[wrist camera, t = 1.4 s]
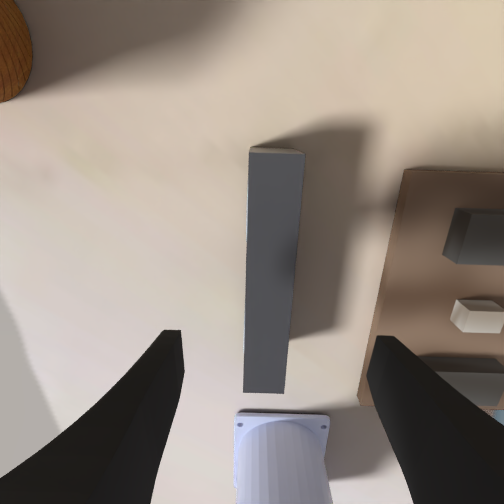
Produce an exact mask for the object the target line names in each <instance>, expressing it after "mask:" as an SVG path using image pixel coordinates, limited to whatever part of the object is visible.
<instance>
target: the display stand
mask: <svg viewBox="0 0 504 504" xmlns="http://www.w3.org/2000/svg"><path fill="white" fill-rule="evenodd" d="M377 335H389V336H395V337H396V338H397V339H398V340H399V341H400V342H402V343H403V344H404V345H405V346H406V347H407V348H408V349H410V350H411V351H412V352H413V353H414V354H415V355H416V356H418V357H419V358H420V359H421V360H422V361H423V362H424V363H425V364H427V365H428V366H429V367H430V368H431V369H432V370H433V371H435V372H436V373H437V374H438V375H439V376H440V377H442V378H443V379H444V380H445V381H446V382H448V383H449V384H450V385H451V386H452V387H454V388H455V389H456V390H457V391H458V392H460V393H461V394H462V395H464V396H465V397H466V398H467V399H469V400H470V401H471V402H472V403H474V404H475V405H476V406H478V407H479V408H480V409H492V410H504V173H501V172H469V171H436V170H404V173H403V178H402V183H401V187H400V192H399V197H398V202H397V207H396V211H395V216H394V221H393V226H392V230H391V235H390V240H389V245H388V250H387V254H386V259H385V264H384V269H383V273H382V278H381V283H380V288H379V293H378V297H377V302H376V307H375V312H374V316H373V321H372V326H371V331H370V335H369V340H368V345H367V350H366V355H365V359H364V364H363V369H362V374H361V378H360V383H359V388H358V393H357V397H358V399H359V402H360V405H361V406H375V405H374V402H373V399H372V395H371V392H370V388H369V385H368V381H367V377H366V374H367V370H368V367H369V363H370V359H371V355H372V352H373V348H374V344H375V340H376V337H377Z"/></svg>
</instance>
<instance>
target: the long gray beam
mask: <svg viewBox="0 0 504 504" xmlns="http://www.w3.org/2000/svg"><path fill="white" fill-rule="evenodd" d="M305 155H306V154H304V153H302V152H300V151H298V150H295V149H293V148H265V147H250V150H249V170H248V189H247V222H246V242H247V253H246V295H245V317H244V378H243V393H277V394H284V388H285V377H286V366H287V354H288V343H289V332H290V321H291V310H292V299H293V288H294V277H295V266H296V255H297V243H298V232H299V221H300V210H301V199H302V188H303V177H304V166H305Z"/></svg>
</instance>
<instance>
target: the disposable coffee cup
mask: <svg viewBox="0 0 504 504" xmlns="http://www.w3.org/2000/svg"><path fill="white" fill-rule="evenodd" d="M31 66H32V44H31V39H30V35H29V31H28V28H27V25H26V23H25V20H24V18H23V15H22V13H21V12H20V10H19V9H18V7H17V5H16V4H15V2H14V0H0V103H1V102H4V101H7V100H9V99H11V98H13V97H15V96H16V95H17V94H18V93H19V92H20V91H21V90H22V88H23V87H24V85H25V83H26V81H27V79H28V77H29V74H30V71H31Z"/></svg>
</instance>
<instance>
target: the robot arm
mask: <svg viewBox="0 0 504 504" xmlns="http://www.w3.org/2000/svg"><path fill="white" fill-rule="evenodd" d="M184 372H185V370H184V359H183V348H182V338H181V330H163V331H162V332H161V333H160V335H159V336H158V337H157V338H156V339H155V341H154V342H153V343H152V344H151V346H150V347H149V348H148V349H147V350H146V351H145V353H144V354H143V355H142V356H141V357H140V358H139V359H138V361H137V362H136V363H135V364H134V365H133V366H132V367H131V368H130V369H129V370H128V372H127V373H126V374H125V375H124V376H123V377H122V378H121V379H120V380H119V381H118V382H117V383H116V384H115V385H114V386H113V387H112V388H111V389H110V390H109V391H108V392H107V393H106V394H105V395H104V396H103V397H102V398H101V399H100V400H99V401H98V402H97V403H96V404H95V405H94V406H92V407H91V408H90V409H89V410H88V411H87V412H86V413H85V414H83V415H82V416H81V417H80V418H79V419H78V420H77V421H75V422H74V423H73V424H72V425H71V426H69V427H68V428H67V429H66V430H64V431H63V432H62V433H61V434H60V435H58V436H57V437H56V438H55V439H53V440H52V441H51V442H50V443H48V444H47V445H46V446H44V447H43V448H42V449H41V450H39V451H38V452H37V453H35V454H34V455H32V456H31V457H30V458H28V459H27V460H25V461H24V462H23V463H21V464H20V465H18V466H17V467H16V468H14V469H13V470H12V471H10V472H9V473H7V474H6V475H4V476H3V477H1V478H0V504H150V503H151V498H152V493H153V489H154V484H155V480H156V476H157V472H158V468H159V465H160V461H161V458H162V455H163V451H164V448H165V445H166V442H167V438H168V435H169V432H170V429H171V425H172V422H173V419H174V415H175V412H176V409H177V406H178V402H179V399H180V394H181V388H182V383H183V378H184ZM366 377H367V381H368V385H369V388H370V392H371V395H372V399H373V402H374V405H375V407H376V410H377V412H378V415H379V417H380V419H381V422H382V424H383V427H384V429H385V431H386V434H387V436H388V438H389V441H390V443H391V445H392V448H393V450H394V453H395V455H396V457H397V460H398V462H399V464H400V467H401V469H402V472H403V474H404V477H405V480H406V482H407V485H408V488H409V491H410V494H411V497H412V500H413V503H414V504H504V426H503V425H502V424H501V423H499V422H498V421H497V420H495V419H494V418H492V417H491V416H490V415H488V414H487V413H485V412H484V411H483V410H481V409H480V408H479V407H478V406H476V405H475V404H474V403H472V402H471V401H470V400H469V399H467V398H466V397H465V396H464V395H462V394H461V393H460V392H458V391H457V390H456V389H455V388H454V387H452V386H451V385H450V384H449V383H448V382H446V381H445V380H444V379H443V378H442V377H440V376H439V375H438V374H437V373H436V372H435V371H433V370H432V369H431V368H430V367H429V366H428V365H427V364H425V363H424V362H423V361H422V360H421V359H420V358H419V357H418V356H416V355H415V354H414V353H413V352H412V351H411V350H410V349H408V348H407V347H406V346H405V345H404V344H403V343H402V342H400V341H399V340H398V339H397V338H396V337H395V336H389V335H377V337H376V340H375V344H374V348H373V352H372V355H371V359H370V363H369V367H368V370H367V374H366ZM329 427H330V418H329V417H328V416H327V415H311V414H277V413H242V412H240V413H237V414H236V415H235V418H234V487H235V488H236V489H237V491H236V504H333V501H332V496H331V491H330V487H329V482H328V477H327V472H326V467H325V463H324V456H325V450H326V445H327V439H328V433H329Z"/></svg>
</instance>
